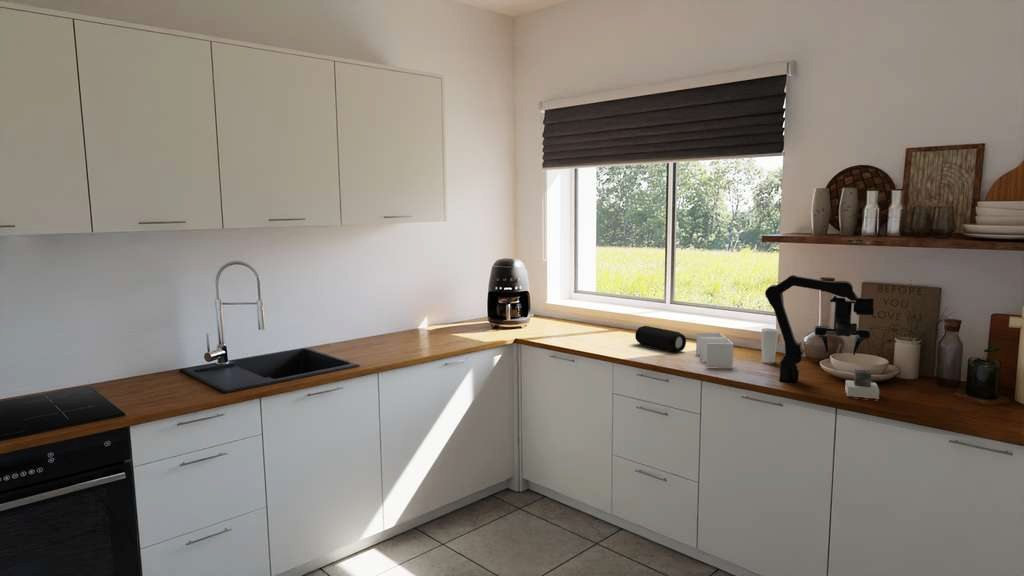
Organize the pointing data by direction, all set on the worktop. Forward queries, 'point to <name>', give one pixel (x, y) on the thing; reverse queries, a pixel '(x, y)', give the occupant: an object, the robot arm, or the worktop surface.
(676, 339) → the portable speaker
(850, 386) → the cream base block
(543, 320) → the worktop surface
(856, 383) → the charcoal cube
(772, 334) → the white tumbler
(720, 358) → the storage container
